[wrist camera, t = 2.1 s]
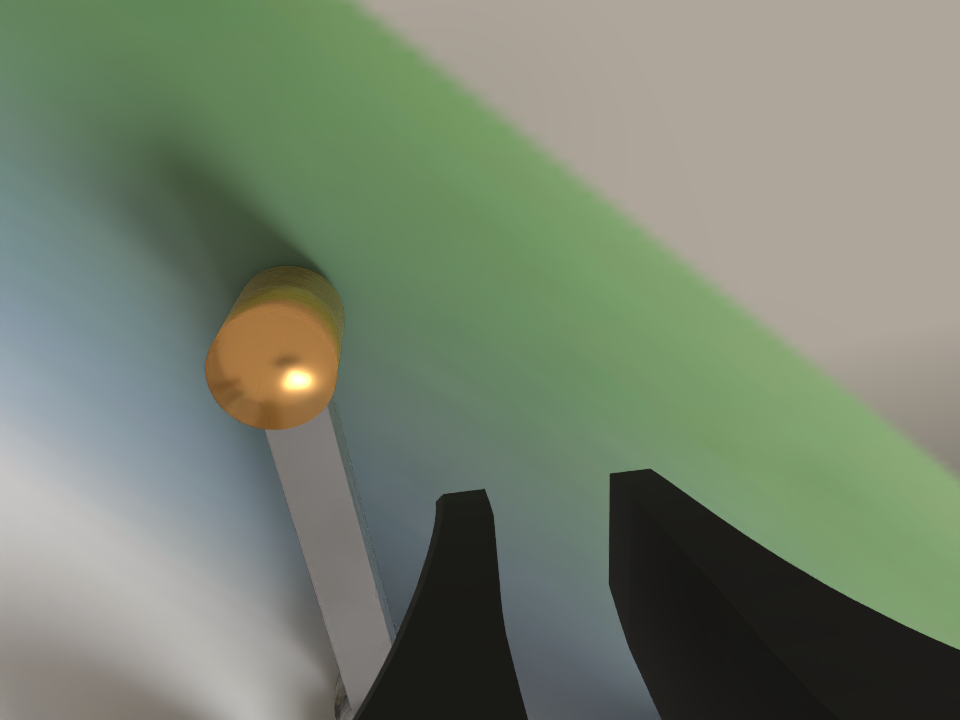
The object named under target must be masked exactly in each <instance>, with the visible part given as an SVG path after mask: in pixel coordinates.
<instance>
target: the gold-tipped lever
mask: <svg viewBox="0 0 960 720" xmlns="http://www.w3.org/2000/svg"><path fill="white" fill-rule="evenodd" d="M344 321H345V316H344V308H343V305H342V301H341V299H340V297H339V295H338V293H337V292H336V290H335V289H334V288H333V286H332V285H331V284H330V283H329V282H328V281H327V280H326V279H324V278H323V277H322V276H320V275H319V274H317V273H315V272H313V271H311V270H308V269H306V268H302V267H297V266H278V267H274V268H270V269H267V270H265V271H263V272H261V273H259V274H257V275H256V276H255V277H253V278H252V279H251V280H250V281H249V282H248V283H247V284H246V286H245V287H244V288H243V290H242V292H241V294H240V295H239V297H238V299H237V301H236V302H235V304H234V306H233V308H232V309H231V311H230V313H229V315H228V316H227V318H226V320H225V322H224V323H223V325H222V327H221V329H220V331H219V332H218V334H217V336H216V338H215V339H214V341H213V343H212V345H211V347H210V349H209V352H208V354H207V359H206V369H205V371H206V379H207V383H208V386H209V389H210V391H211V393H212V395H213V397H214V398H215V400H216V401H217V403H218V404H219V405H220V406H221V407H222V408H223V409H224V410H225V411H226V412H227V413H228V414H229V415H231V416H232V417H233V418H235V419H237V420H238V421H240V422H242V423H244V424H247V425H249V426H252V427H255V428H260V429H264V430H265V433H266V436H267V439H268V443H269V446H270V449H271V452H272V455H273V459H274V462H275V465H276V468H277V472H278V475H279V478H280V481H281V484H282V488H283V491H284V494H285V497H286V500H287V504H288V507H289V510H290V513H291V516H292V520H293V523H294V526H295V529H296V532H297V536H298V539H299V542H300V545H301V549H302V552H303V555H304V558H305V561H306V565H307V568H308V571H309V574H310V577H311V581H312V584H313V587H314V590H315V593H316V597H317V600H318V603H319V606H320V609H321V613H322V616H323V619H324V622H325V625H326V629H327V632H328V635H329V638H330V642H331V645H332V648H333V651H334V654H335V658H336V661H337V664H338V667H339V670H340V674H341V677H342V680H343V683H344V686H345V690H346V694H345V696H344V698H343V701H342V704H341V711H340V720H352V719H353V718H354V716H355V714H356V713H357V711H358V709H359V708H360V706H361V704H362V703H363V701H364V699H365V697H366V696H367V694H368V692H369V690H370V688H371V686H372V685H373V683H374V681H375V679H376V677H377V675H378V673H379V671H380V669H381V668H382V666H383V664H384V662H385V660H386V658H387V655H388V653H389V651H390V649H391V647H392V645H393V643H394V641H395V639H396V634H395V630H394V626H393V622H392V618H391V614H390V611H389V607H388V603H387V599H386V595H385V592H384V588H383V584H382V580H381V576H380V572H379V569H378V565H377V561H376V557H375V553H374V550H373V546H372V542H371V538H370V534H369V530H368V527H367V523H366V519H365V515H364V511H363V508H362V504H361V500H360V496H359V492H358V488H357V485H356V481H355V477H354V473H353V469H352V465H351V462H350V458H349V454H348V450H347V446H346V443H345V439H344V435H343V431H342V427H341V423H340V420H339V416H338V412H337V408H336V404H335V401H334V397H333V393H334V390H335V386H336V381H337V373H338V366H339V359H340V351H341V344H342V337H343V329H344Z"/></svg>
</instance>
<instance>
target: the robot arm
mask: <svg viewBox="0 0 960 720" xmlns="http://www.w3.org/2000/svg"><path fill="white" fill-rule="evenodd" d="M609 586H610V590H611V593H612V596H613V599H614V603H615V606H616V609H617V613H618V616H619V619H620V622H621V625H622V628H623V631H624V634H625V637H626V640H627V643H628V646H629V649H630V651H631V653H632V655H633V658H634V660H635V662H636V664H637V667H638V669H639V671H640V673H641V675H642V678H643V680H644V682H645V684H646V686H647V689H648V691H649V693H650V695H651V697H652V699H653V702H654V704H655V706H656V708H657V710H658V712H659V715H660V717H661V719H662V720H960V650H958V649H956V648H954V647H951V646H949V645H947V644H944V643H942V642H940V641H937V640H935V639H933V638H931V637H928V636H926V635H924V634H922V633H920V632H918V631H915V630H913V629H911V628H909V627H907V626H905V625H903V624H901V623H899V622H897V621H895V620H893V619H891V618H889V617H887V616H885V615H883V614H881V613H879V612H877V611H875V610H873V609H871V608H869V607H867V606H865V605H863V604H861V603H859V602H857V601H855V600H853V599H851V598H849V597H847V596H846V595H844V594H842V593H840V592H838V591H836V590H835V589H833V588H831V587H829V586H827V585H826V584H824V583H822V582H820V581H819V580H817V579H815V578H814V577H812V576H810V575H809V574H807V573H805V572H804V571H802V570H800V569H799V568H797V567H795V566H794V565H792V564H790V563H789V562H787V561H785V560H783V559H782V558H780V557H779V556H777V555H776V554H774V553H772V552H771V551H769V550H768V549H766V548H765V547H763V546H761V545H760V544H758V543H757V542H755V541H754V540H752V539H751V538H749V537H748V536H746V535H745V534H743V533H742V532H740V531H739V530H737V529H736V528H734V527H733V526H731V525H730V524H728V523H727V522H726V521H724V520H723V519H721V518H720V517H718V516H717V515H715V514H714V513H713V512H711V511H710V510H708V509H707V508H706V507H704V506H703V505H701V504H700V503H699V502H697V501H696V500H694V499H693V498H691V497H690V496H689V495H687V494H686V493H685V492H683V491H682V490H680V489H679V488H678V487H676V486H675V485H673V484H672V483H671V482H669V481H668V480H666V479H665V478H663V477H662V476H660V475H659V474H658V473H656V472H654V471H653V470H651V469H644V470H636V471H627V472H619V473H611V474H610V513H609ZM352 720H528V718H527V714H526V711H525V707H524V703H523V699H522V696H521V692H520V688H519V684H518V680H517V676H516V673H515V669H514V665H513V661H512V657H511V653H510V649H509V645H508V641H507V637H506V632H505V626H504V619H503V613H502V604H501V593H500V582H499V571H498V560H497V548H496V537H495V526H494V515H493V512H492V508H491V505H490V502H489V499H488V497H487V494H486V491H485V489H481V490H473V491H465V492H457V493H449V494H443V495H442V496H441V497H440V498H439V499H438V500H437V501H436V516H435V524H434V529H433V534H432V538H431V542H430V546H429V550H428V554H427V557H426V560H425V563H424V566H423V569H422V572H421V575H420V578H419V581H418V584H417V587H416V590H415V593H414V595H413V598H412V601H411V603H410V605H409V608H408V610H407V612H406V615H405V617H404V620H403V622H402V624H401V627H400V629H399V631H398V634H397V636H396V639H395V641H394V643H393V645H392V647H391V649H390V651H389V653H388V655H387V658H386V660H385V662H384V664H383V666H382V668H381V669H380V671H379V673H378V675H377V677H376V679H375V681H374V683H373V685H372V686H371V688H370V690H369V692H368V694H367V696H366V697H365V699H364V701H363V703H362V704H361V706H360V708H359V709H358V711H357V713H356V714H355V716H354V718H353V719H352Z"/></svg>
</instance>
